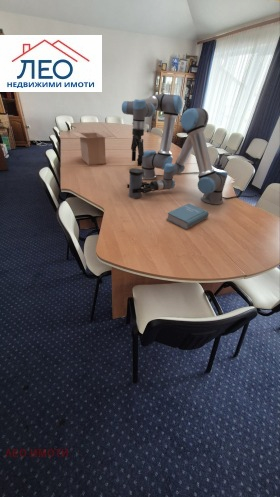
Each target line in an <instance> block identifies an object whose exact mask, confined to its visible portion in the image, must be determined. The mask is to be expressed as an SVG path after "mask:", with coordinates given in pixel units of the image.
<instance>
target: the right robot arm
mask: <svg viewBox="0 0 280 497" xmlns="http://www.w3.org/2000/svg"><path fill="white" fill-rule="evenodd" d="M208 122H209V113H208V111H207V110H206V109H205V108H202V107H192V108H191V107H190V108H188V109H186V110H185V111H184V112H183V114H182V115H181V118H180V126H181V128H182V129H184V131H186V135H187V137H186V139H185V141H184V142H183V145H182V146H181V147H182V148H181V149H180V152H179V154H178V156H177V158H176V160H175V163H172V164H171V163H167V164H165V167H164V170H163V174H162V175H163V176H162V179H159V180H158V179H157V180H150V183H149V182H148V181H142V188H139V189H133V190H132V193H138V192H141V193H142V194H147V193H151V192H156V191H164V190H166V191H167V190H172V189H174V188H175V186H176V181H175V179H174V176H176V174H177V175H180V174H179V173H184V171H185V165H186V163H187V161H188V159H189V158H190V156H191V154H192V152H193V153H194V157H195V160H196V164H197V169H198V172H199V173H198V175H197V177H198V181H197V189H198V191H199V192H200V193H202V194H203V195H202V197H201V201H203V202H204V203H206V204H210V205H221V204H222V202H223V199H225V200H230V199H233V198H235V199H236V198H239V197H243V198H254V197H257V196H258V195H257V194H253V195H240V194H239V195H234V196H228V197H225V196H223V191H224V188H225V184H226V181H227V178H228V171H226V170H223V169H217V168H213V166H212V162H211V158H210V154H209V149H208V145H207V141H206V137H205V133H204V132H205V129H206V127H207V125H208ZM126 187H127V189H129V183H128V184H127V185H126Z"/></svg>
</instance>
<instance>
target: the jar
mask: <svg viewBox="0 0 280 497" xmlns="http://www.w3.org/2000/svg"><path fill="white" fill-rule="evenodd" d="M142 175H143V174H142ZM142 175H131V174H130V173H129V183H128V184H129V188H128V197H129V198H132V199H140V198H141V197H142V192H138V193H132V190H133V189H139V188H143V187H142V182H143V179H142Z"/></svg>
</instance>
